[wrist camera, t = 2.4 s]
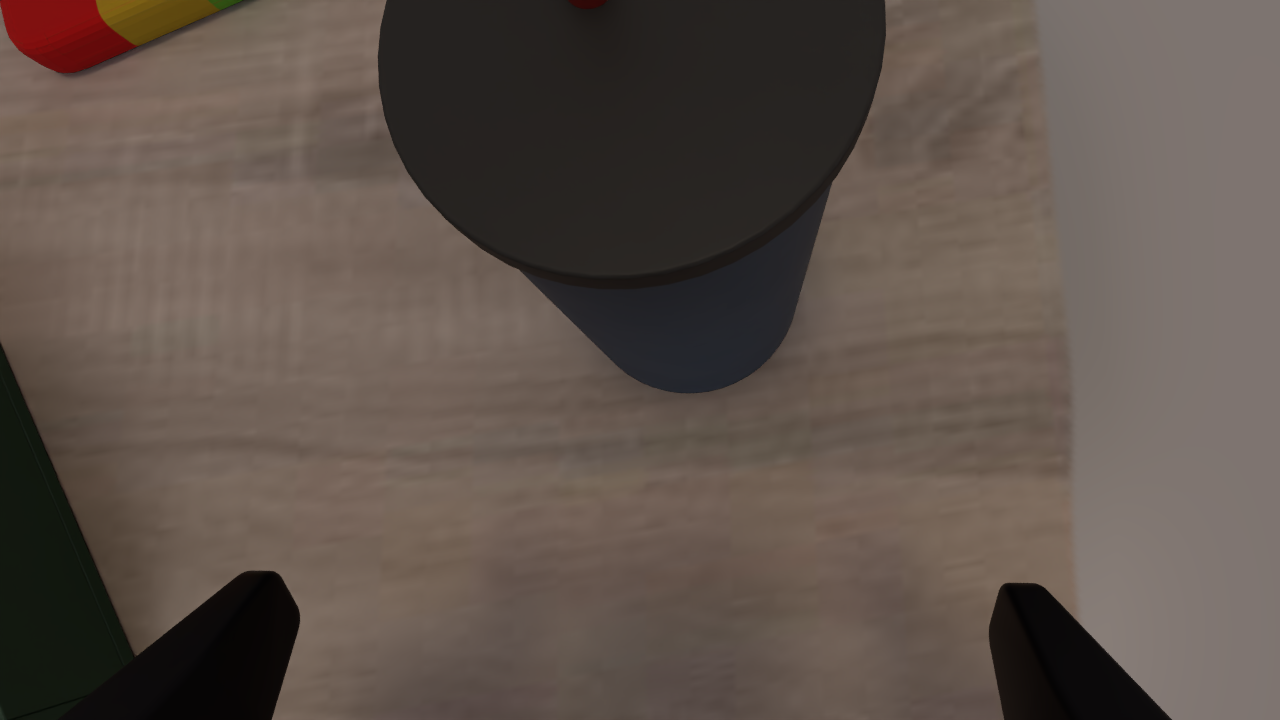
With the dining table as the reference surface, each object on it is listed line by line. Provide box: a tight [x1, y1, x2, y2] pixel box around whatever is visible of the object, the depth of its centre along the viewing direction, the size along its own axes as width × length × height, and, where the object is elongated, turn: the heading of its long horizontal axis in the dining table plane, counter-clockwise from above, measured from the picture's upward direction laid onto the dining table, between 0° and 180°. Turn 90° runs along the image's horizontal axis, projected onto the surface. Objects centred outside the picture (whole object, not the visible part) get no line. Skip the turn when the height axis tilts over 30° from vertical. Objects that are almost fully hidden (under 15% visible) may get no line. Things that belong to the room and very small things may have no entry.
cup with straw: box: [378, 0, 886, 393], centre depth 14 cm, size 7×7×18 cm
